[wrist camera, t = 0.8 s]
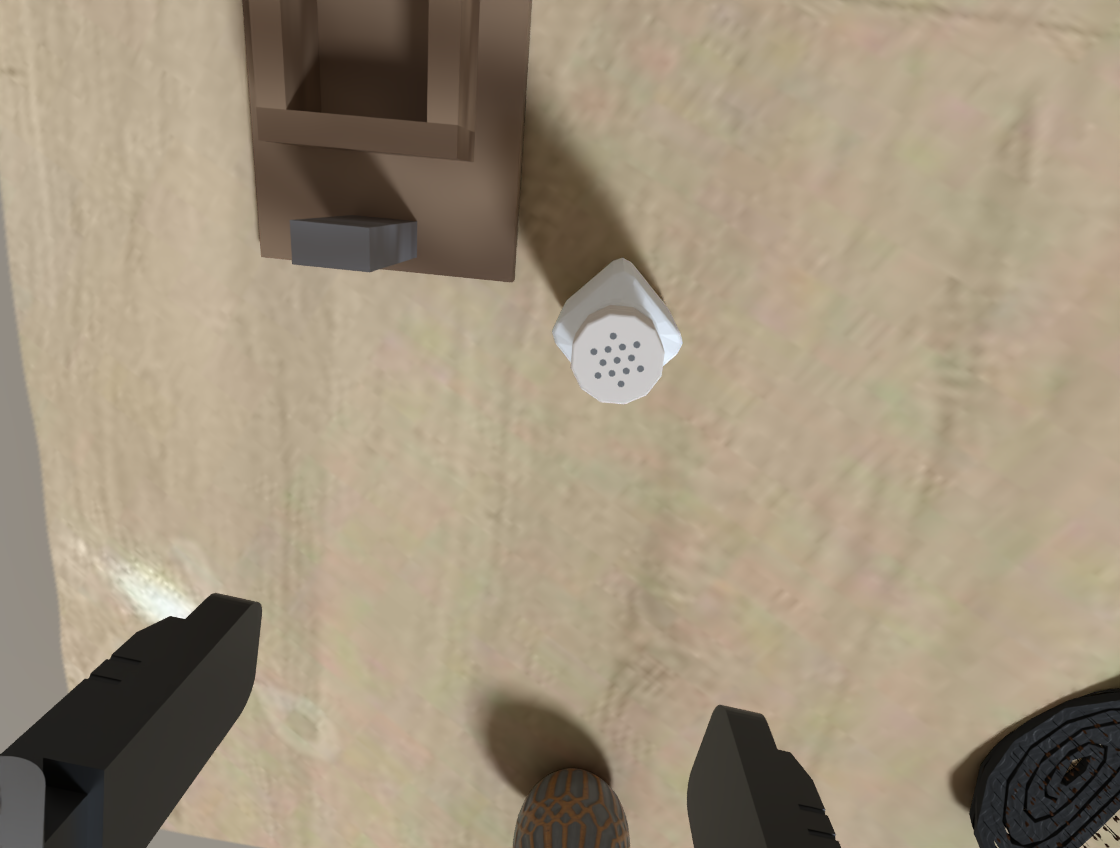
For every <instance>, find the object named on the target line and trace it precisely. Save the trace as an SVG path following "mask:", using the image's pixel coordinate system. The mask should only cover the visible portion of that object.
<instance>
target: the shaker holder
mask: <svg viewBox="0 0 1120 848" xmlns="http://www.w3.org/2000/svg"><path fill="white" fill-rule="evenodd" d="M531 8H532V0H243V13H244V27H245V40H246V54H247V68H248V82H249V96H250V109H251V123H252V137H253V151H254V165H255V178H256V192H257V206H258V220H259V234H260V247H261V257H267V258H277V259H287V260H292V264H294V265H304V266H314V267H324V268H334V269H344V270H353V271H363V272H372V271H375V270H378V269H385V270H395V271H405V272H415V273H424V274H434V275H444V276H454V277H464V278H474V279H484V280H493V281H503V282H513V281H514V280H515V264H516V248H517V232H518V216H519V200H520V184H521V168H522V152H523V136H524V120H525V104H526V88H527V72H528V56H529V40H530V24H531Z"/></svg>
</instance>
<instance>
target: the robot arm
mask: <svg viewBox="0 0 1120 848" xmlns="http://www.w3.org/2000/svg"><path fill="white" fill-rule="evenodd" d="M261 618H262V607H261V604H260V603H259V602H255V601H251V600H246V599H242V598H237V597H233V596H228V595H223V594H219V593H213V594H211V595H210V596H209V597H207V598H206V599H205V600H204V601H203V602H202V603H201V604H200V605H199V606H198V607H197V608H196V609H195V610H194V611H193V612H192V613H191V614H190V615H189V616H188V617H187V618H186V619H182V618H177V617H172V616H169V617H167V618H165V619H163V620H161V621H159V622H157V623H155V624H153V625H151V626H149V627H147V628H145V629H142V630H140V631H138V632H136V633H135V634H134V635H133V636H132V637H131V638H130V639H129V640H128V641H126V642H125V643H124V644H123V645H122V646H121V647H120V648H119V649H117V650H116V651H115V652H114V653H113V654H112V656H111V658H110V659H109V660H108V659H106V660H105V661H104V662H103V663H102V664H101V665H100V666H99V667H97V668H96V669H95V670H94V671H93V672H92V673H91V674H90V677H89V678H88V679H84V680H83V681H82V682H81V683H80V684H78V685H77V686H76V687H75V688H74V689H73V690H72V691H71V692H70V693H68V694H67V695H66V696H65V697H64V698H63V699H62V700H61V701H60V702H58V703H57V704H56V705H55V706H54V707H53V708H52V709H51V710H49V711H48V712H47V713H46V714H45V715H44V716H43V717H42V718H41V719H39V720H38V721H37V722H36V723H35V724H34V725H33V726H32V727H31V728H29V729H28V730H27V731H26V732H25V733H24V734H23V735H22V736H20V737H19V738H18V739H17V740H16V741H15V742H14V743H13V744H12V745H10V746H9V747H8V748H7V749H6V750H5V751H4V752H3V753H2V754H0V848H146V847H147V846H148V844H149V843H150V841H151V840H152V839H153V837H154V836H155V834H156V833H157V832H158V830H159V829H160V827H161V826H162V825H163V823H164V822H165V820H166V819H167V817H168V816H169V815H170V813H171V812H172V810H173V809H174V808H175V806H176V805H177V803H178V802H179V801H180V799H181V798H182V796H183V795H184V793H185V792H186V791H187V789H188V788H189V786H190V785H191V784H192V782H193V781H194V779H195V778H196V777H197V775H198V774H199V772H200V771H201V770H202V768H203V767H204V765H205V764H206V762H207V761H208V760H209V758H210V757H211V755H212V754H213V753H214V751H215V750H216V748H217V747H218V746H219V744H220V743H221V741H222V740H223V739H224V737H225V736H226V734H227V733H228V731H229V730H230V729H231V727H232V726H233V724H234V723H235V722H236V720H237V719H238V717H239V716H240V714H241V713H242V711H243V709H244V707H245V705H246V703H247V701H248V699H249V696H250V693H251V691H252V687H253V684H254V680H255V674H256V664H257V655H258V646H259V637H260V627H261ZM687 810H688V817H689V822H690V828H691V833H692V839H693V844H694V848H841V846H840V844H839V841H836V840H835V835H836V834H835V832H834V829H833V827H832V825H831V822H830V820H829V818H828V816H827V815H825V808H824V806H823V803H822V801H821V799H820V796H819V794H818V791H817V789H816V787H815V784H814V782H813V780H812V779H811V777H810V776H809V775H808V774H807V772H806V771H805V770H804V769H803V767H802V766H801V765H800V764H799V762H798V761H797V760H796V759H795V757H794V756H793V755H792V754H791V753H790V752H786V751H782V750H777V747H776V744H775V742H774V739H773V736H772V734H771V731H770V728H769V726H768V723H767V721H766V719H765V717H764V716H763V715H762V714H760V713H755V712H751V711H746V710H742V709H737V708H733V707H728V706H723V705H718V706H717V707H716V708H715V709H714V711H713V713H712V716H711V719H710V721H709V724H708V727H707V729H706V732H705V735H704V737H703V740H702V743H701V746H700V748H699V751H698V754H697V756H696V759H695V762H694V765H693V767H692V770H691V773H690V777H689V782H688V790H687Z"/></svg>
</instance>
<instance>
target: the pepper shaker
mask: <svg viewBox="0 0 1120 848" xmlns="http://www.w3.org/2000/svg"><path fill="white" fill-rule="evenodd" d="M552 333H553V337H554V340H555V343H556V344H557V346H558V347H559V348H560V349H561V351H562V352H563V353H564V355H565V356H566V357H567V358H568V360H569V361H570V362H571V369H572V371H573V373H574V375H575V377H576V379H577V382H578V384H579V386H580V388H581V389H582V390H584V391H585V392H587V393H588V394H590V395H591V396H592V397H594V398H595V399H597V400H598V401H600V402H606V403H616V404H626V403H629V402H631V401H633V400H636V399H638V398H640V397H643V396H645V395H647V394H648V393H649V391H650V390H651V389H652V387H653V386H654V385H655V384H656V382H657V381H658V380H659V378H660V377H661V376H662V369H663V366H664V365H665V364H666V363H667V362H668V361H669V360H671V359H672V358H673V357H674V356H675V355H676V354H677V353H678V351H679V349H680V347H681V345H682V343H683V342H682V338H681V334H680V331H679V329H678V327H677V325H676V323H675V321H674V319H673V316H672V314H671V312H670V310H669V309H668V307H667V306H666V305H665V304H664V302H663V301H662V300H661V299H660V297H659V296H658V295H657V294H656V292H655V291H654V290H653V289H652V287H651V286H650V285H649V284H648V282H647V281H646V280H645V279H644V277H643V276H642V275H641V274H640V272H639V271H638V270H637V269H636V267H635V266H634V265H633V264H632V262H630V261H628V260H626V259H624V258H620V259H617V260H614V261H612V262H611V263H610V264H609V265H607V266H606V267H605V268H604V269H603V270H602V271H600V272H599V273H598V274H597V275H596V276H595V277H593V278H592V279H591V280H590V281H589V282H587V283H586V284H585V285H584V286H583V287H582V288H580V289H579V290H578V291H577V292H576V293H575V294H573V295H572V296H571V297H570V298H569V299H568V300H566V302H565V304H564V306H563V308H562V310H561V313H560V315H559V317H558V319H557V321H556V323H555V325H554V328H553V330H552Z"/></svg>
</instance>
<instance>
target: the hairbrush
mask: <svg viewBox="0 0 1120 848" xmlns="http://www.w3.org/2000/svg"><path fill="white" fill-rule="evenodd" d="M1100 692H1114V693H1107V694H1101V695H1094V696H1088V695H1092V694H1096V693H1100ZM1085 696H1088V697H1085ZM1085 696H1082V697H1079V698H1075V699H1072V700H1069V701H1067V702H1065V703H1062V704H1060V705H1058V706H1056V707H1054V708H1052V709H1050V710H1048V711H1046V712H1044V713H1042V714H1040V715H1038V716H1036V717H1034V718H1032V719H1031V720H1029V721H1027V722H1026V723H1024V724H1023V725H1021V726H1020V727H1019V728H1017V729H1016V730H1015V731H1014V732H1013V733H1010V734H1008V735H1007V736H1006V737H1005V738H1004V739H1002V740H1001V741H1000V742H999V743H998V744H997V745H996V746H995V747H994V748H993V749H992V750H991V752H990V753H989V754H988V756H987V757H986V758H985V760H984V761H983V763H982V764H981V766H980V770H979V775H978V779H977V783H976V787H975V792H974V796H973V800H972V804H971V809H970V813H969V815H970V819H971V823H972V827H973V829H974V835H975V837H976V839H977V842H978V844H979V847H980V848H997V847H996V846H995V843H994V841H995V842H996V844H997V846H998V847H999V848H1079V847H1081V846H1082V845H1083V844H1084V843H1086V841H1087V840H1088V839H1090V838H1091V837H1092V836H1093V837H1094V839H1095V840H1097V838H1096V837H1095V836H1094V834H1096V835H1097V836H1098V837H1099V838H1100V837H1101V836H1100V834H1099V833H1096V832H1097V831H1098V830H1099V829H1100V828H1101V827H1102V826H1104V824H1105V823H1106V822H1107V821H1108V820H1109V819H1110V818H1111V817H1112V816H1113V815H1115V813H1116V812H1117V811H1118V810H1119V809H1120V689H1109V690H1103V691H1097V692H1093V693H1090V694H1087V695H1085ZM1099 744H1102V746H1103V748H1102V747H1101V746H1100V745H1099ZM1082 757H1083V758H1082ZM1078 758H1082V759H1081V761H1079V760H1078ZM1075 759H1077V760H1078V761H1079V763H1078V764H1077V766H1076V767H1075V766H1074V765H1073V764H1072V763H1071V762H1072V760H1075ZM1070 764H1072V765H1073V766H1074V768H1075V769H1074V768H1073V767H1072V766H1071V765H1070ZM1069 766H1071V767H1072V768H1073V769H1074V770H1073V769H1072V770H1073V771H1072V772H1070V771H1071V770H1070V771H1069V770H1068V767H1069ZM1067 770H1068V771H1069V772H1070V773H1069V772H1068V773H1069V774H1068V773H1066V771H1067ZM1065 773H1066V774H1065ZM1023 806H1024V807H1025V808H1026V810H1023ZM1113 819H1114V820H1115V821H1116V822H1117V820H1120V819H1119V818H1118V817H1117V816H1116V815H1115V818H1113ZM1117 823H1118V822H1117ZM1105 825H1106V824H1105ZM1004 826H1005V827H1006V828H1007V830H1008V832H1009V834H1008V833H1007V832H1006V830H1005V827H1004ZM1106 826H1107V825H1106ZM1107 827H1108V826H1107ZM1108 828H1109V827H1108ZM1103 829H1104V830H1106V831H1109V830H1108V829H1107V828H1106V827H1105V826H1104V827H1103ZM1109 829H1110V828H1109ZM1110 830H1111V829H1110ZM1111 831H1112V830H1111ZM1109 832H1110V831H1109ZM1112 832H1113V831H1112ZM1110 833H1111V832H1110ZM1113 833H1114V832H1113ZM1111 834H1112V833H1111ZM1112 835H1113V834H1112ZM1114 835H1115V836H1116V837H1117V838H1118V839H1117V838H1116V837H1115V836H1114ZM1114 835H1113V837H1114V838H1115V840H1117V841H1118V840H1120V837H1119V836H1117V835H1116V834H1115V833H1114ZM1100 839H1101V838H1100ZM1105 845H1106V847H1108V848H1109V846H1108V845H1107V844H1105ZM1083 846H1084V845H1083ZM1084 848H1087V847H1086V846H1084Z"/></svg>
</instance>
